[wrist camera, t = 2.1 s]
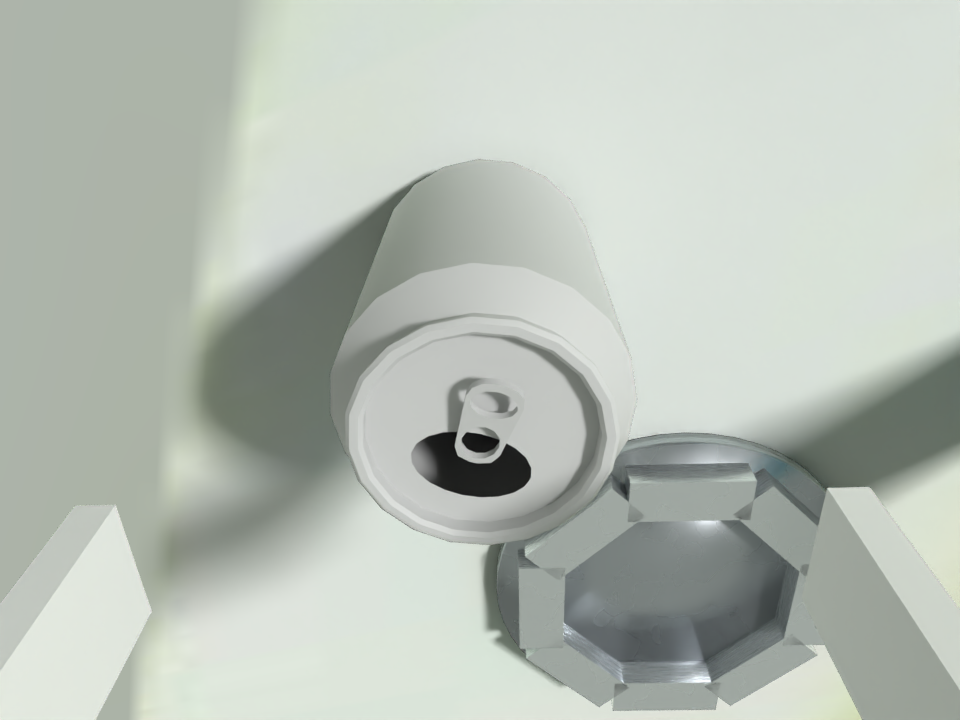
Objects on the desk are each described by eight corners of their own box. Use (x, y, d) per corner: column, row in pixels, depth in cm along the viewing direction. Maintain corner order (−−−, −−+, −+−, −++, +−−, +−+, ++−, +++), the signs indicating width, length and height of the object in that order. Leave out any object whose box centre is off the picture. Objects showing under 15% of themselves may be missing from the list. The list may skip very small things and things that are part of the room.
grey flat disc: (491, 437, 31) (491, 466, 29) (880, 428, 30) (904, 457, 28) (500, 689, 38) (501, 724, 37) (810, 686, 38) (825, 721, 36)
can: (367, 322, 28) (292, 538, 18) (405, 127, 25) (342, 254, 14) (553, 365, 29) (588, 596, 19) (616, 183, 26) (704, 341, 15)
